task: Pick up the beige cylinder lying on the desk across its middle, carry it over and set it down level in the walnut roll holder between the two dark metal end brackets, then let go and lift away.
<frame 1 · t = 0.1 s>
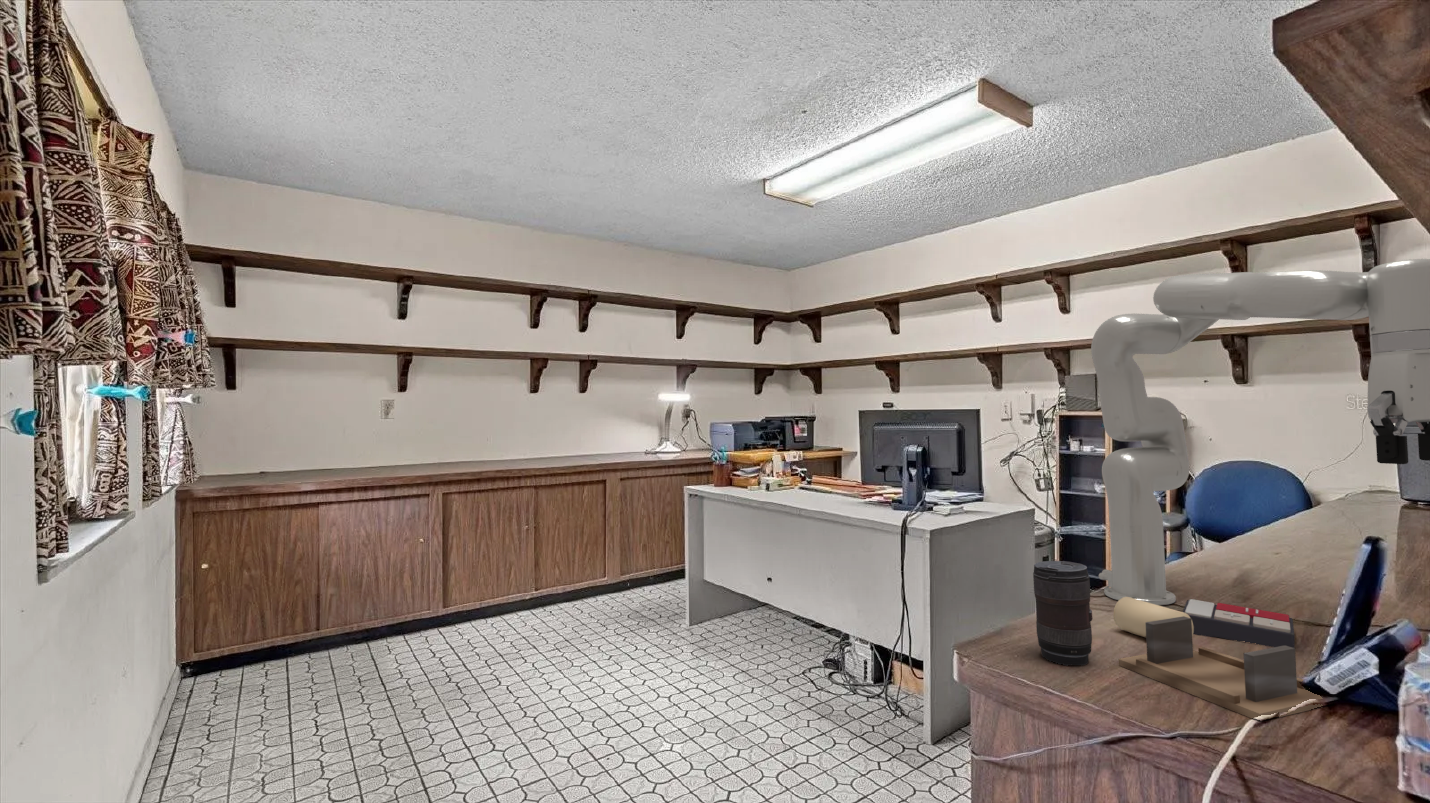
hand: (1414, 461, 94), 31 cm above the worktop, tool pointing down, fingers open, 9 cm apart
camera lens: (1064, 659, 104), on the worktop
calculator: (1236, 635, 114), on the worktop
roll holder: (1217, 683, 93), on the worktop
beige cylinder: (1152, 621, 112), point 3 cm above the worktop
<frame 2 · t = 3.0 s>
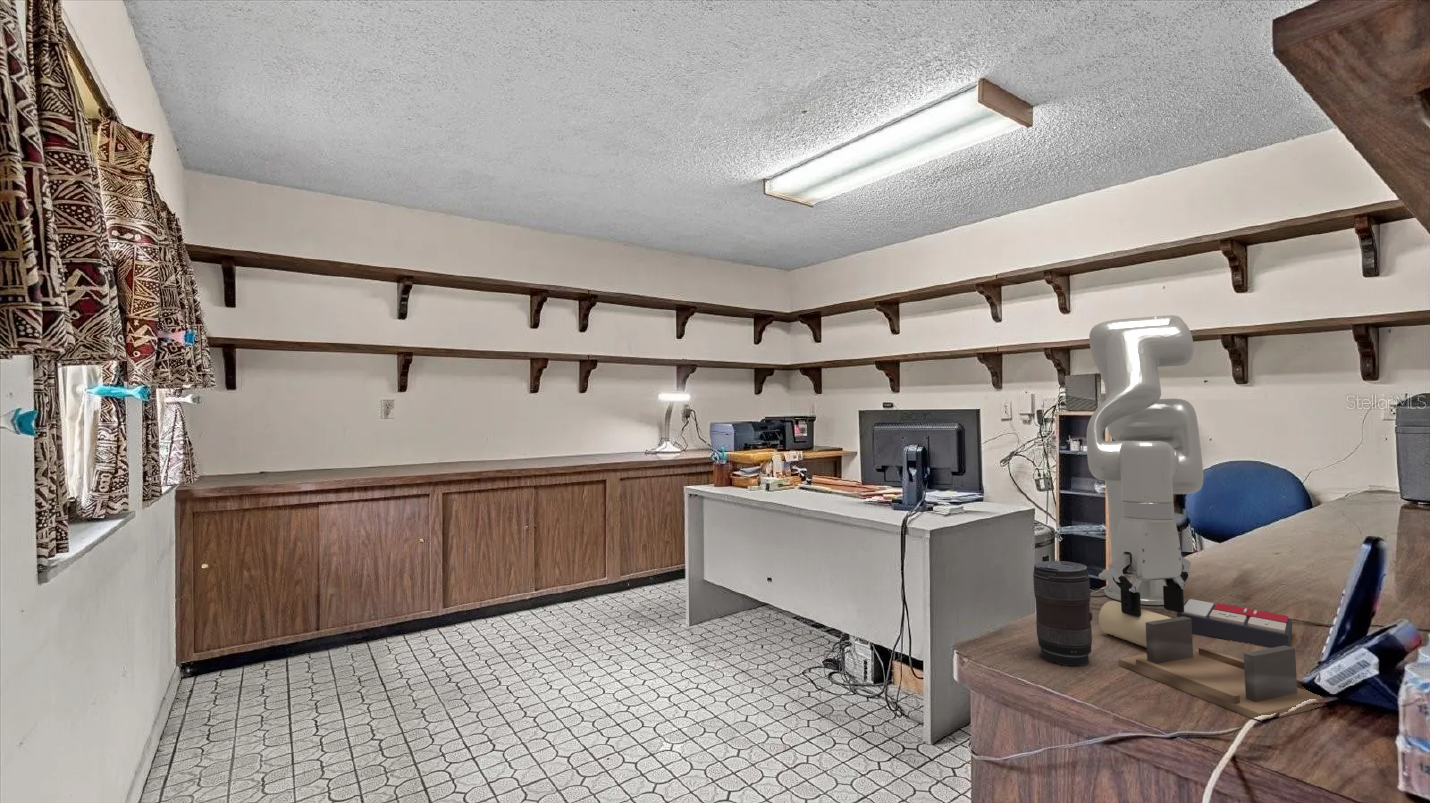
hand: (1152, 612, 110), 5 cm above the worktop, tool pointing down, fingers open, 9 cm apart
beige cylinder: (1137, 625, 110), point 3 cm above the worktop, tilted 91°, touching gripper
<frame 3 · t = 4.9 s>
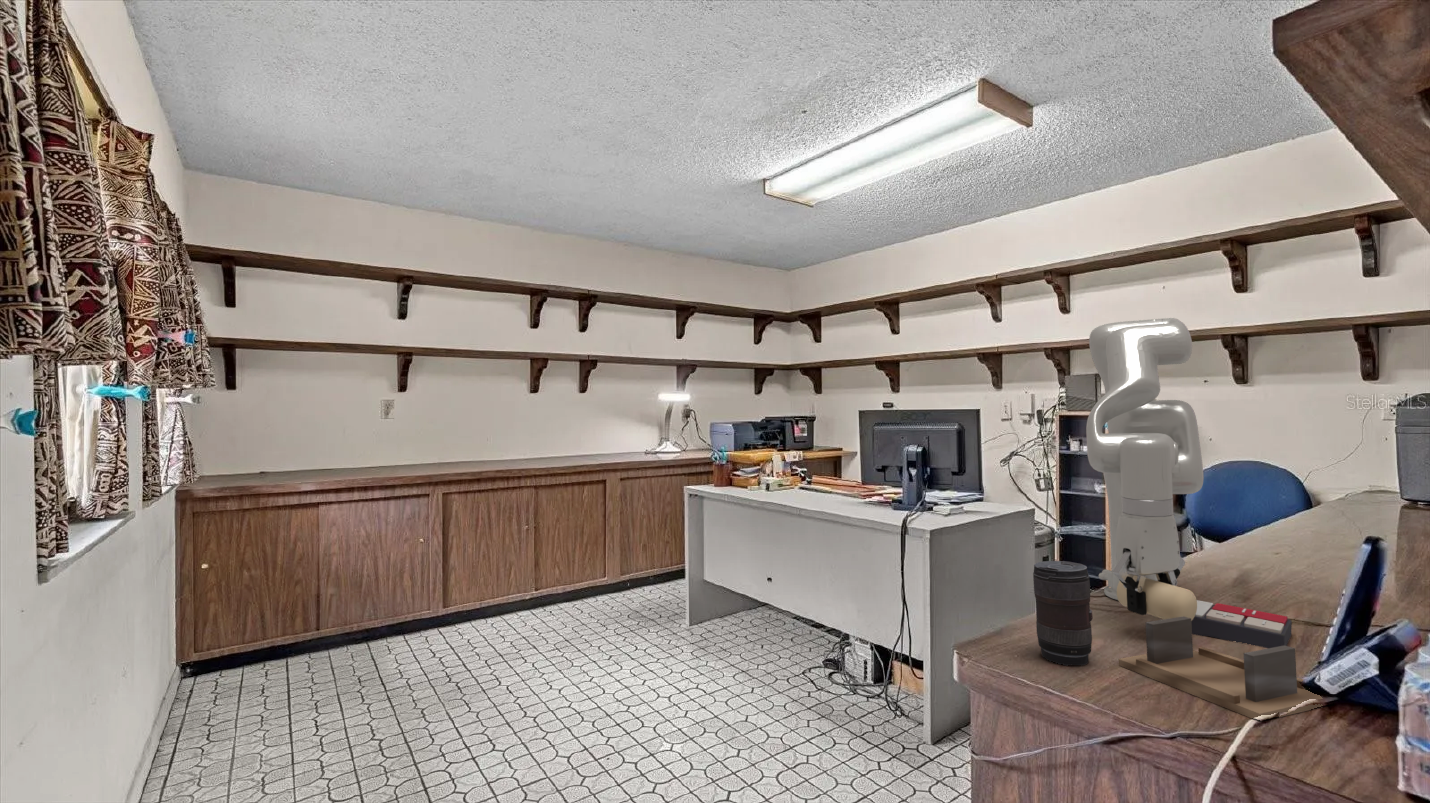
hand: (1151, 608, 113), 5 cm above the worktop, tool pointing down, fingers closed on beige cylinder, 6 cm apart
beige cylinder: (1155, 598, 112), point 7 cm above the worktop, tilted 42°, touching gripper
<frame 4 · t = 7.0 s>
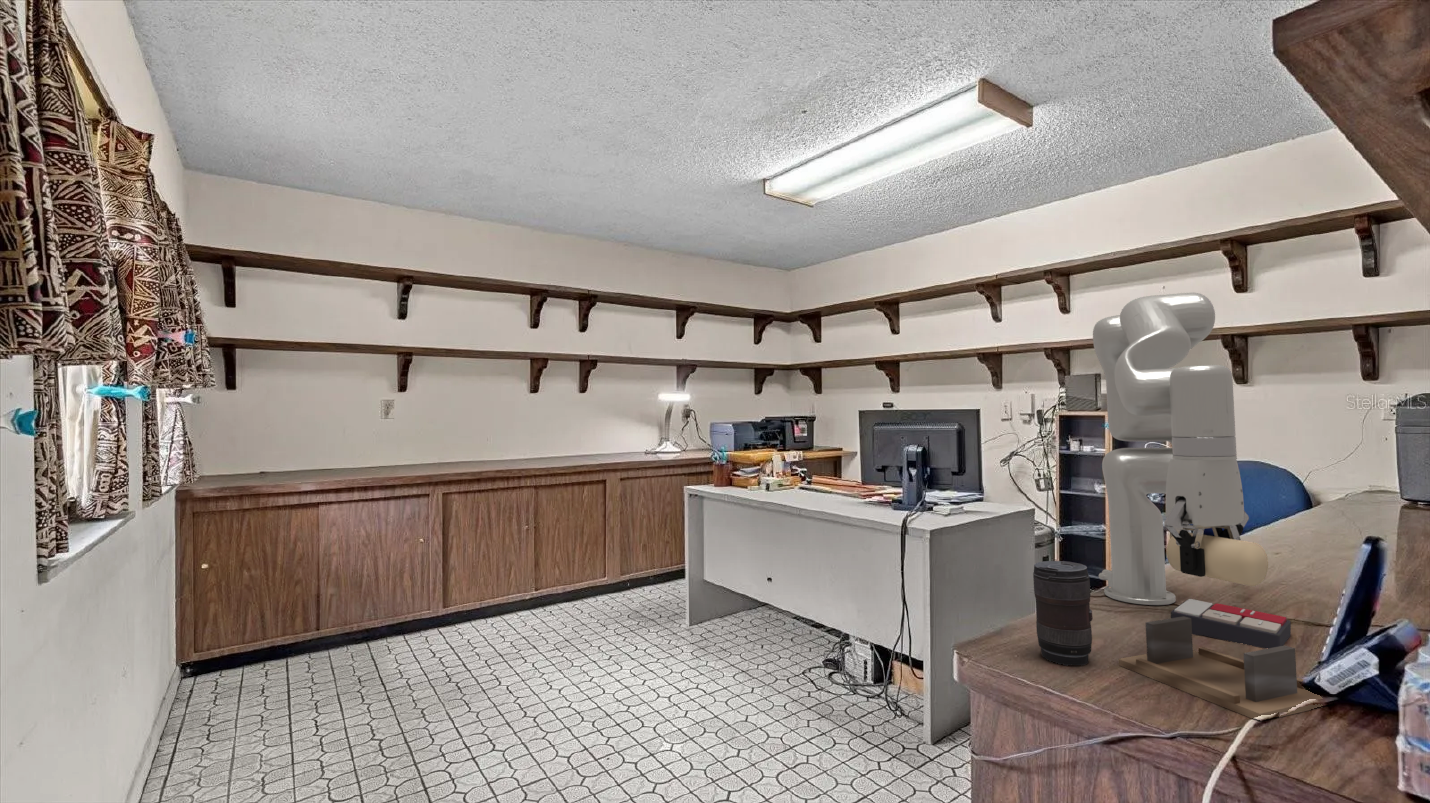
hand: (1209, 571, 94), 16 cm above the worktop, tool pointing down, fingers closed on beige cylinder, 5 cm apart
beige cylinder: (1215, 557, 93), point 18 cm above the worktop, tilted 40°, touching gripper
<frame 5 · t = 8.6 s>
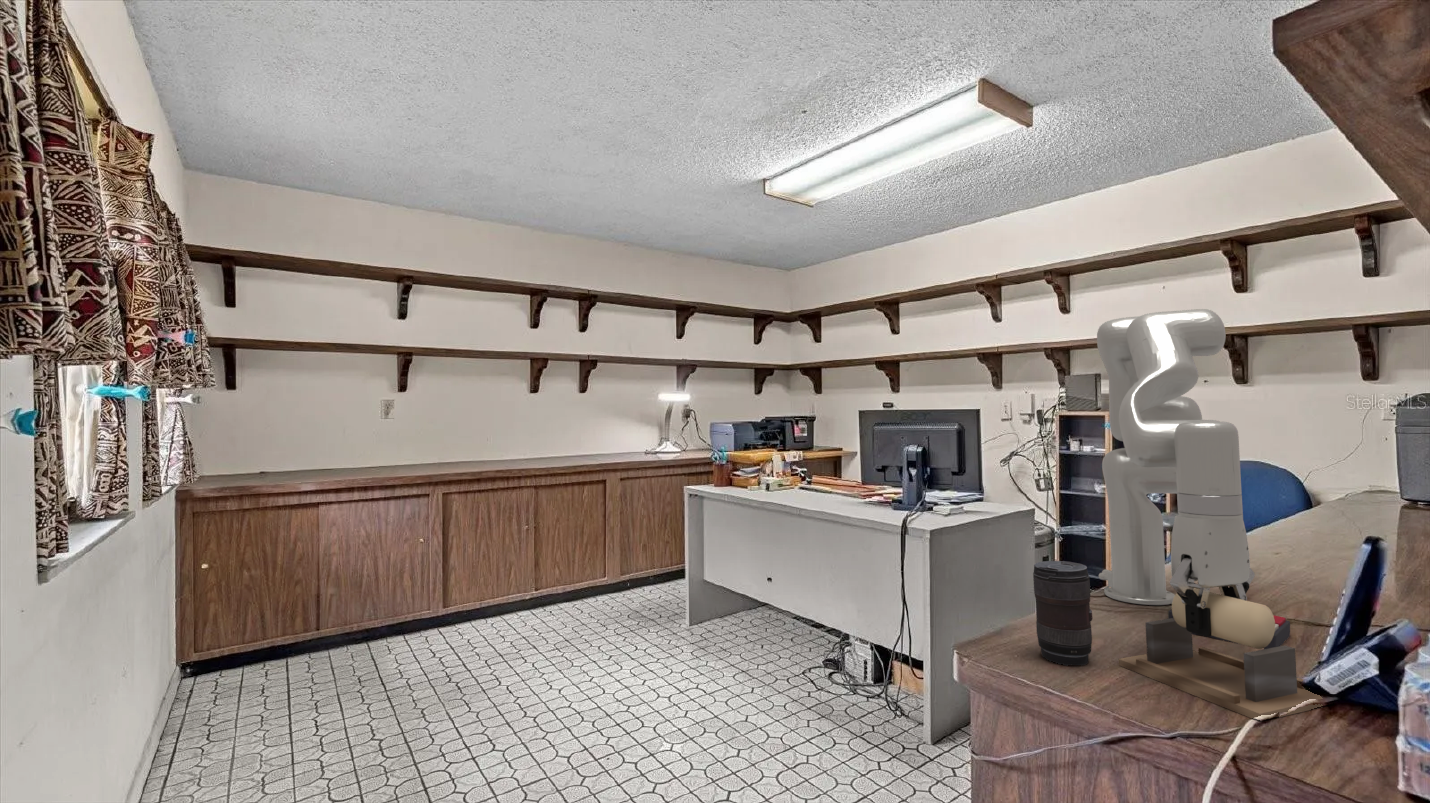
hand: (1215, 629, 93), 8 cm above the worktop, tool pointing down, fingers closed on beige cylinder, 6 cm apart
beige cylinder: (1221, 616, 92), point 10 cm above the worktop, tilted 40°, touching gripper
when the fingers open (3 cm above the worktop, at t = 10.0 s): beige cylinder drops 1 cm, resting on roll holder.
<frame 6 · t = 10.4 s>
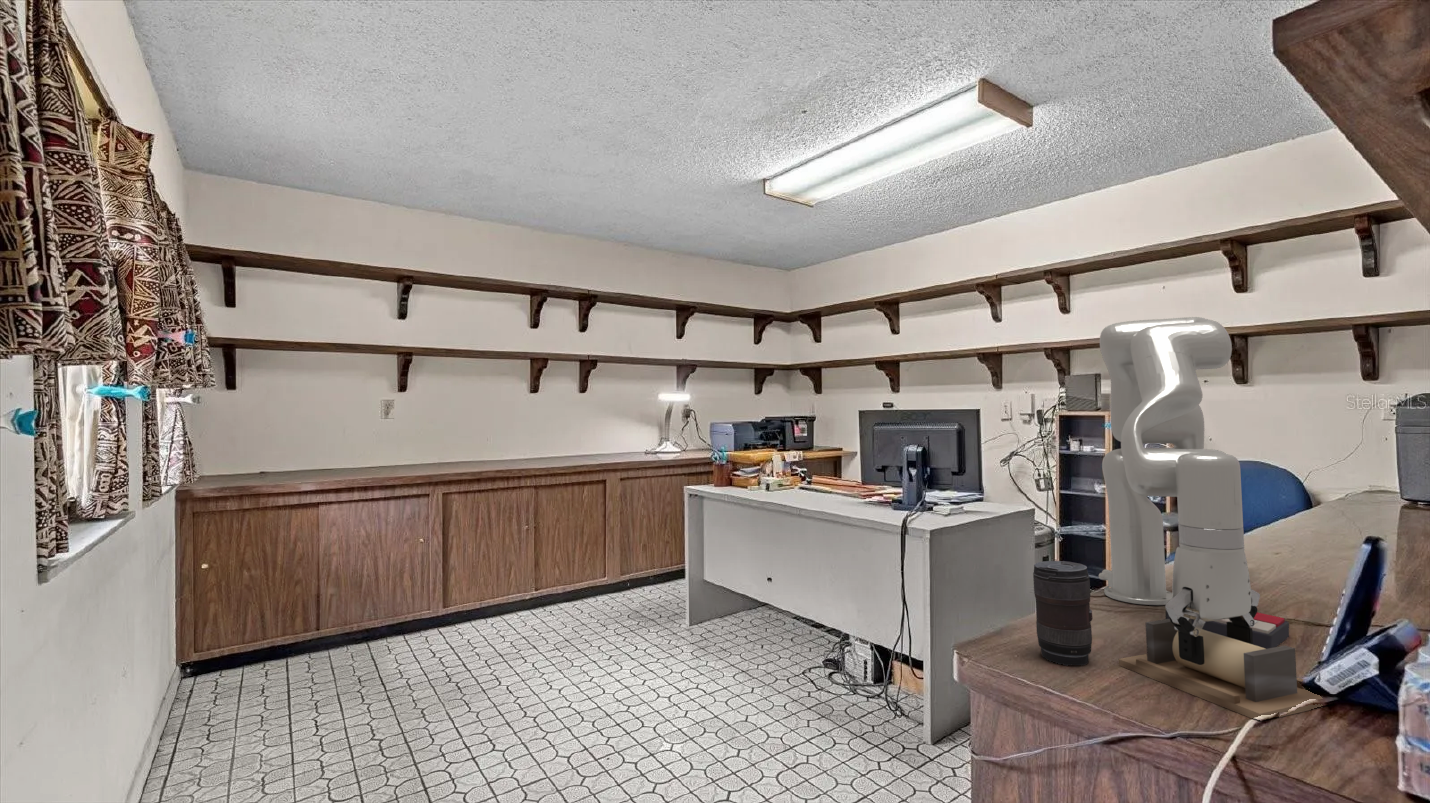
hand: (1216, 656, 93), 4 cm above the worktop, tool pointing down, fingers open, 9 cm apart
beige cylinder: (1221, 657, 92), point 4 cm above the worktop, tilted 41°, touching roll holder
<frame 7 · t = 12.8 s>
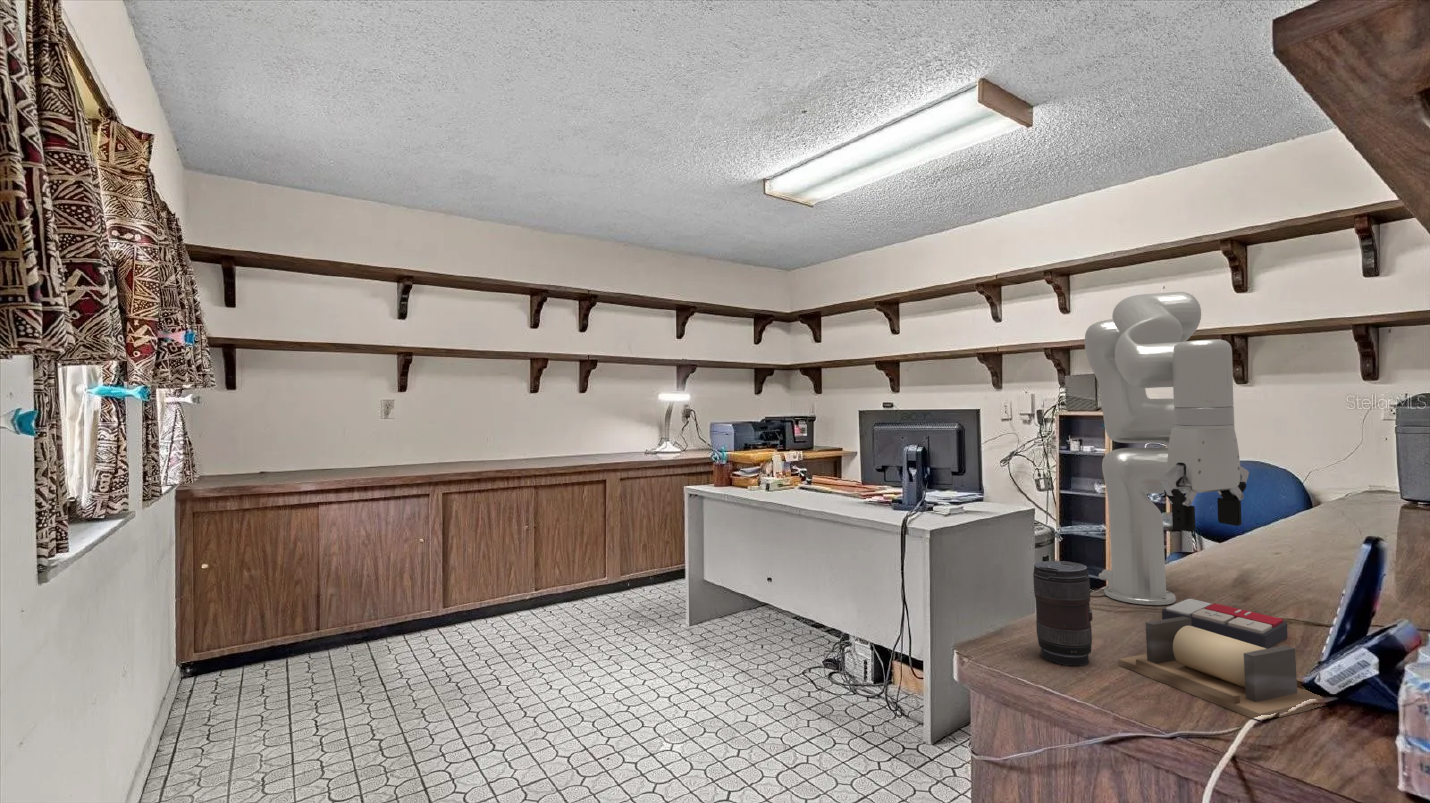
hand: (1207, 527, 101), 21 cm above the worktop, tool pointing down, fingers open, 9 cm apart
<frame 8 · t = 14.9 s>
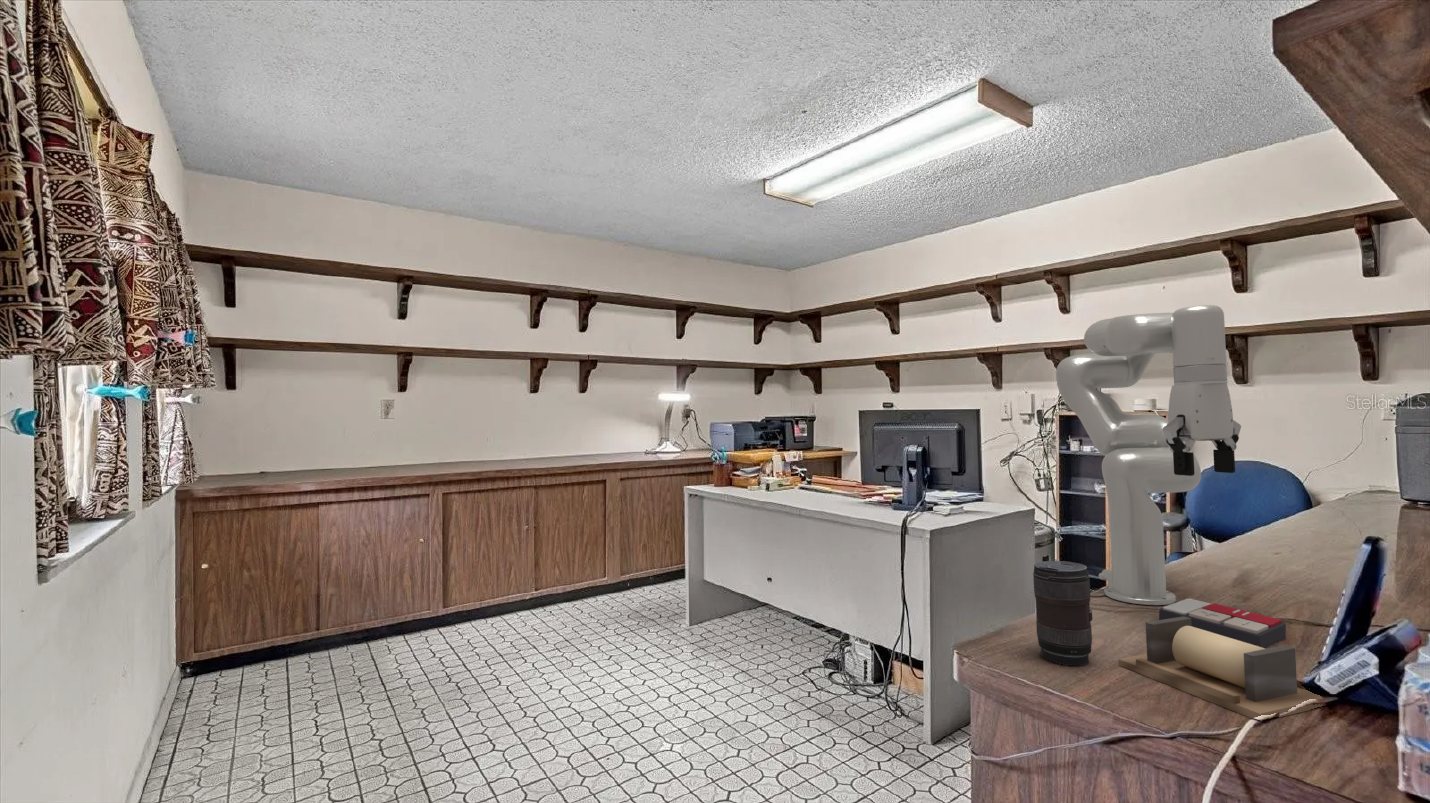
hand: (1204, 473, 113), 28 cm above the worktop, tool pointing down, fingers open, 9 cm apart
at the end: beige cylinder 0.8 cm off-centre on the roll holder, point 4.0 cm above the roll holder's base; beige cylinder touching roll holder; the gripper is holding nothing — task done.
